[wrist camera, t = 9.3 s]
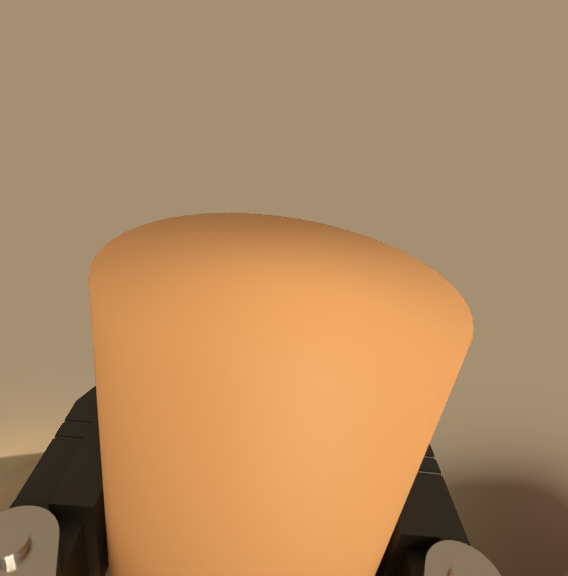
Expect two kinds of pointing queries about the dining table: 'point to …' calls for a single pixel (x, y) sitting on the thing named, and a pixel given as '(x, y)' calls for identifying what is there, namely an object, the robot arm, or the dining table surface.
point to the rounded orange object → (264, 393)
